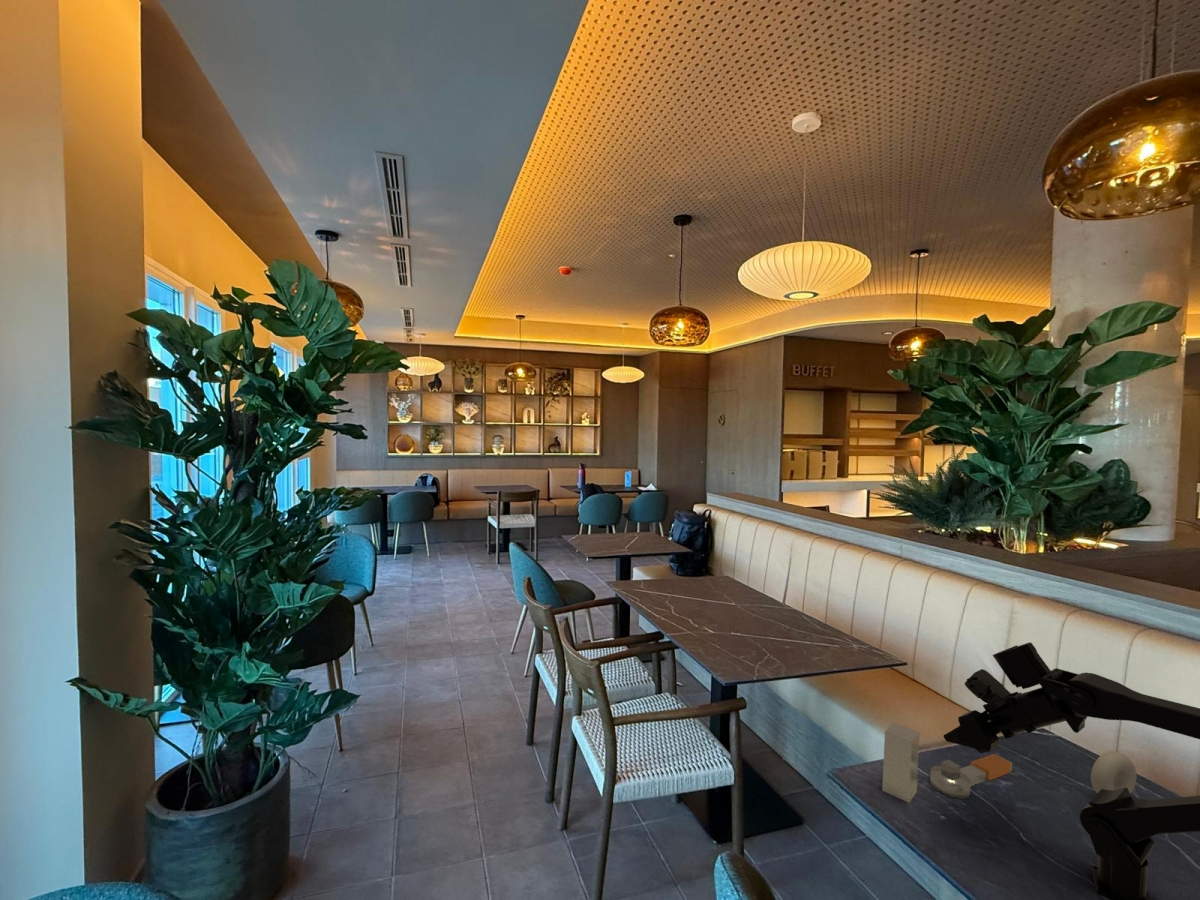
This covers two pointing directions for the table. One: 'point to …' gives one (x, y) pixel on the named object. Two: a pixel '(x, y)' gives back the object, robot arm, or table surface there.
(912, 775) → the tall beige block
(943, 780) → the ratchet
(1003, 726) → the robot arm
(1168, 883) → the table surface
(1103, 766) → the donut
